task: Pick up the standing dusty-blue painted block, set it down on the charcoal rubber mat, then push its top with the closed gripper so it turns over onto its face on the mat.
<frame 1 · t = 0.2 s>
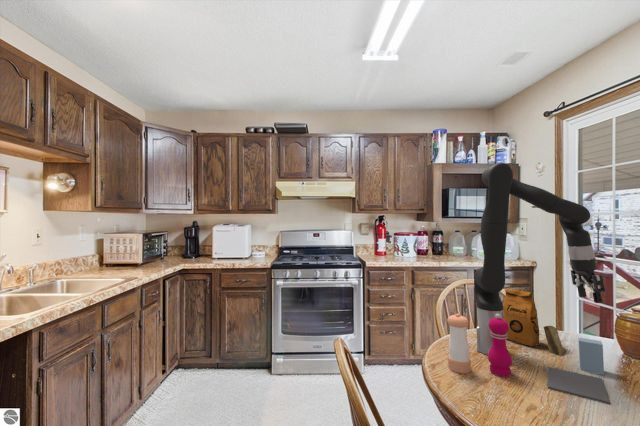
hand: (590, 299, 114), 22 cm above the table, tool pointing down, fingers open, 8 cm apart
block: (591, 370, 104), on the table
pepper shaker: (459, 368, 106), on the table
pepper mill: (500, 373, 103), on the table
mat: (575, 384, 95), on the table
coffee package: (522, 342, 129), on the table
rock: (557, 350, 120), on the table
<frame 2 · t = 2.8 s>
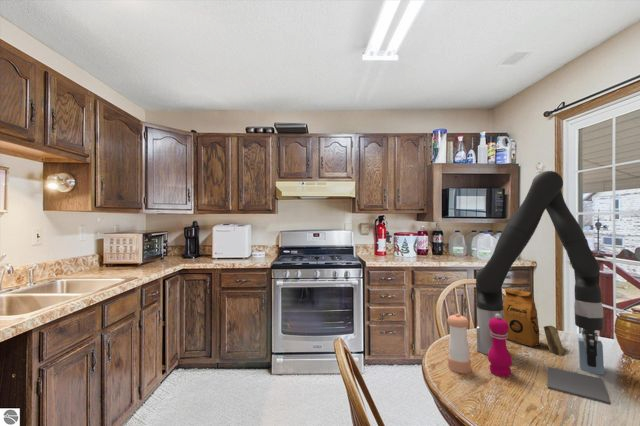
hand: (591, 363, 104), 2 cm above the table, tool pointing down, fingers closed on block, 4 cm apart
block: (591, 370, 104), on the table, touching gripper
everything else where it was.
when the fingers open (4 cm above the table, at t = 7.5 s): block drops 1 cm, resting on mat.
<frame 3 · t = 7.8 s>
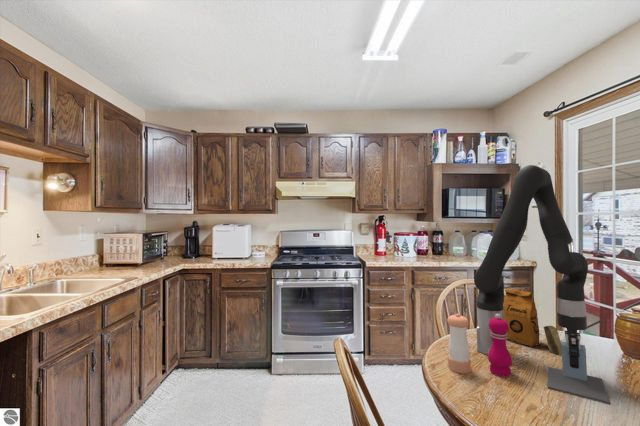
hand: (573, 363, 99), 5 cm above the table, tool pointing down, fingers open, 6 cm apart
block: (574, 375, 99), point 1 cm above the table, touching mat
everything else where it was.
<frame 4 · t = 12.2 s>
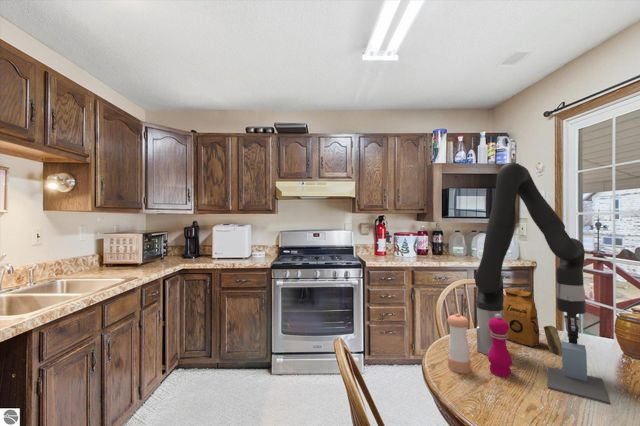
hand: (573, 349, 101), 9 cm above the table, tool pointing down, fingers closed
block: (574, 374, 99), point 1 cm above the table, tilted 10°, touching mat
everything else where it was.
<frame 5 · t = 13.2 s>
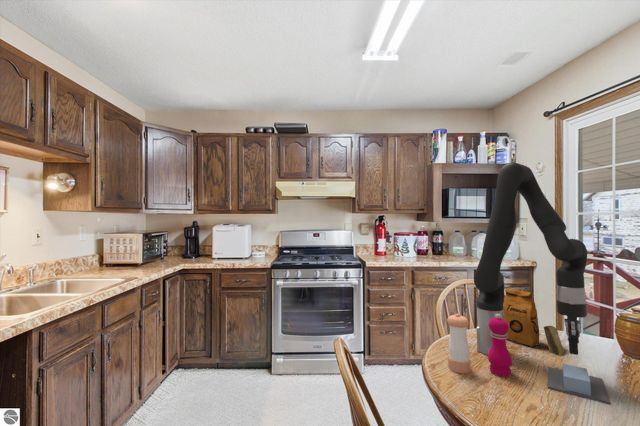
hand: (573, 353, 98), 9 cm above the table, tool pointing down, fingers closed
block: (574, 372, 97), point 3 cm above the table, tilted 90°, touching mat
everything else where it was.
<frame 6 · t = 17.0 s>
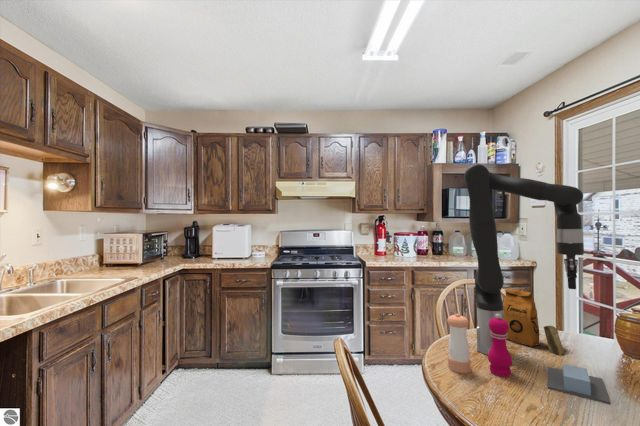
hand: (572, 288, 109), 27 cm above the table, tool pointing down, fingers closed
nothing on the table moved.
at the end: block tilted 90°; block inside the target area on the mat (3.4 cm from its centre), point 2.6 cm above the mat's base; the gripper is holding nothing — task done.
